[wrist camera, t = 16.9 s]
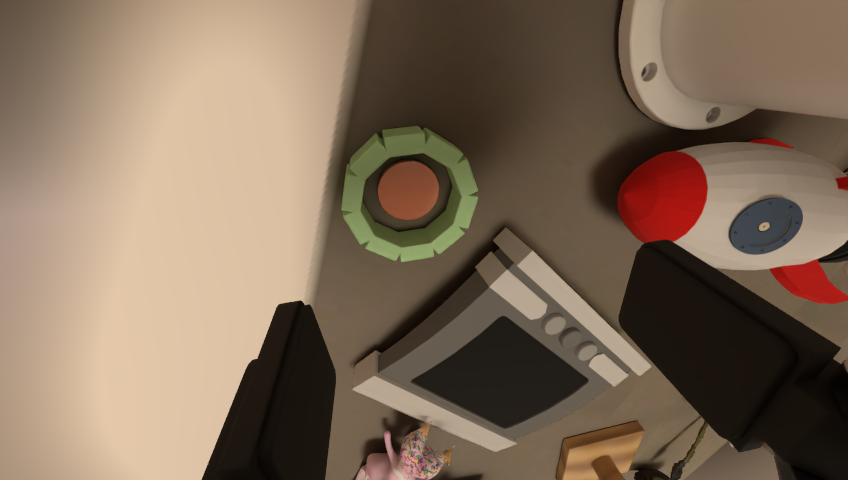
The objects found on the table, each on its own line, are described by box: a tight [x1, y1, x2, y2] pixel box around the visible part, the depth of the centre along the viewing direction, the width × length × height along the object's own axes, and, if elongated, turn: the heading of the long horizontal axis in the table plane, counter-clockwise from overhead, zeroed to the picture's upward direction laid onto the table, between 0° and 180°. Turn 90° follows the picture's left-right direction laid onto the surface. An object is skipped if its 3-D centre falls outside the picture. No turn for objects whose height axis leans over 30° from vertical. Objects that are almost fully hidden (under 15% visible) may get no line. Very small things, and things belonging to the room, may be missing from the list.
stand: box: [556, 421, 645, 480], centre depth 37 cm, size 9×9×5 cm
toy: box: [617, 139, 848, 304], centre depth 20 cm, size 9×10×20 cm
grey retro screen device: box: [352, 228, 652, 452], centre depth 26 cm, size 17×5×16 cm
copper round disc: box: [377, 160, 439, 220], centre depth 19 cm, size 4×4×1 cm
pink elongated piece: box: [356, 420, 455, 480], centre depth 29 cm, size 6×6×15 cm
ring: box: [341, 126, 478, 262], centre depth 18 cm, size 7×7×2 cm
